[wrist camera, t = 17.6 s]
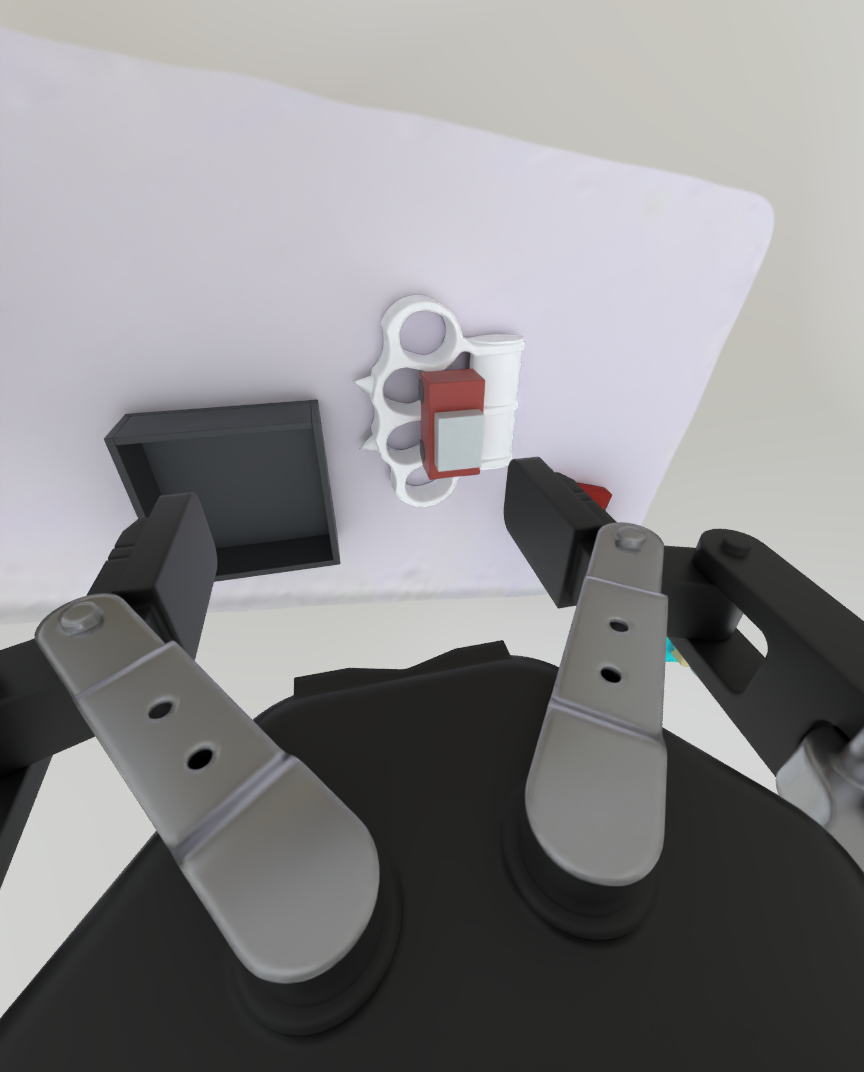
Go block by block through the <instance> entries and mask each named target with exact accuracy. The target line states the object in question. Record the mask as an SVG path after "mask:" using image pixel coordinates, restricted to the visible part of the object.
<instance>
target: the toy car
mask: <svg viewBox="0 0 864 1072" xmlns="http://www.w3.org/2000/svg"><path fill="white" fill-rule="evenodd" d="M418 389H419V398H420V401H421V440H420V455H421V459H422V464H423V467H424V469H425V471H426V473H427V475H428V477H429V479H430V480H432V479H441V478H450V477H459V476H468V475H477V474H480V467H481V462H482V446H483V430H484V414H483V411H484V394H485V379H484V378H483V377H482V376H481V375H479V374H478V373H477V372H476V371H475V370H474V369H459V370H444V371H430V372H421V373H420V379H419V384H418Z"/></svg>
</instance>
